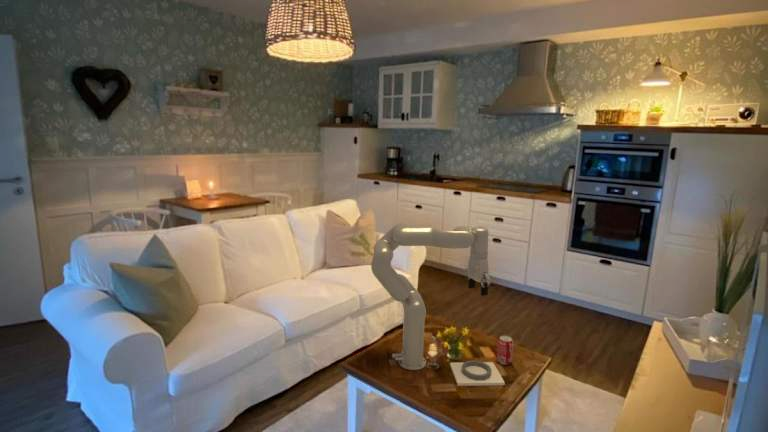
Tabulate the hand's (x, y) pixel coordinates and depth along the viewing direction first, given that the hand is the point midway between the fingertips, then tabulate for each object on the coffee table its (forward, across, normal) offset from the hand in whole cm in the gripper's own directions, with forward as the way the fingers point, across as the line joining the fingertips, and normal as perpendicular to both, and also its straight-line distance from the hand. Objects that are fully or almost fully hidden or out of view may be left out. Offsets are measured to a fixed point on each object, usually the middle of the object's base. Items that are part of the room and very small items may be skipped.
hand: (477, 291), depth 182 cm
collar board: (+35, +9, -6) cm, 36 cm away
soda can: (+36, +4, +13) cm, 38 cm away
